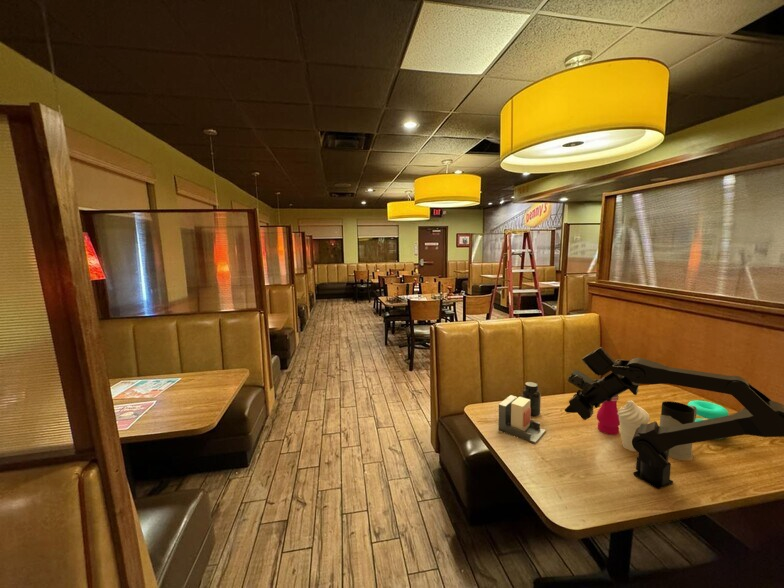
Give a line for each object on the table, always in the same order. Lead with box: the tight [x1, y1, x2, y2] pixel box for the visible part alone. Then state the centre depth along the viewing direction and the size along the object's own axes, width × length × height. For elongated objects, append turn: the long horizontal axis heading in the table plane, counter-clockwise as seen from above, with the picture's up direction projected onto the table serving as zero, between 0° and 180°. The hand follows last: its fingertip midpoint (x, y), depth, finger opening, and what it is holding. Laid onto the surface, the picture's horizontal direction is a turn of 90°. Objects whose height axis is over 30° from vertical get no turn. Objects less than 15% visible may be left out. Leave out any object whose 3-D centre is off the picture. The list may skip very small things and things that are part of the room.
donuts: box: [687, 399, 730, 440], centre depth 108 cm, size 10×10×10 cm
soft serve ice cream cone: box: [617, 400, 651, 453], centre depth 101 cm, size 8×8×16 cm
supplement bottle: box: [521, 381, 542, 418], centre depth 125 cm, size 7×7×12 cm
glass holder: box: [659, 400, 697, 461], centre depth 99 cm, size 9×14×15 cm, turn 111°
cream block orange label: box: [511, 396, 532, 431], centre depth 113 cm, size 5×7×10 cm, turn 136°
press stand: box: [497, 394, 547, 445], centre depth 113 cm, size 13×10×10 cm
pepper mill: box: [596, 395, 620, 436], centre depth 111 cm, size 7×7×20 cm
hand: (565, 410), depth 102 cm, fingers closed
